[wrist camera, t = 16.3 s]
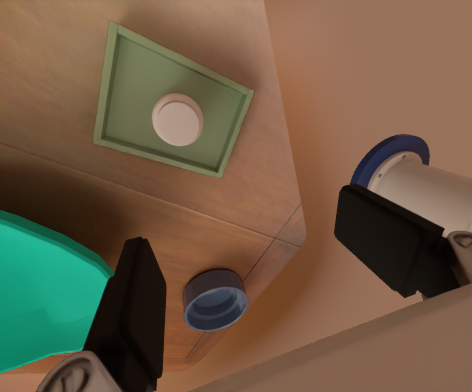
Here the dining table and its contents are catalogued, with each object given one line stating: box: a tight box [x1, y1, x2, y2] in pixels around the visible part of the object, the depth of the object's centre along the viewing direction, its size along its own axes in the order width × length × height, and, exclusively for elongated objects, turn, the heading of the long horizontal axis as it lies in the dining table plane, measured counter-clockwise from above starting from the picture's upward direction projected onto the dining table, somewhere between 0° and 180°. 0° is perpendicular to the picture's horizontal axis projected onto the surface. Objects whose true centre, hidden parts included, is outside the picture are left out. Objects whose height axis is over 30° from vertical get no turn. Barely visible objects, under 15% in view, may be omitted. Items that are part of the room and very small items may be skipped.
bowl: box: [183, 270, 248, 332], centre depth 44 cm, size 13×13×5 cm
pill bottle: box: [152, 93, 204, 146], centre depth 24 cm, size 5×5×10 cm
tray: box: [93, 20, 254, 179], centre depth 27 cm, size 17×13×3 cm
